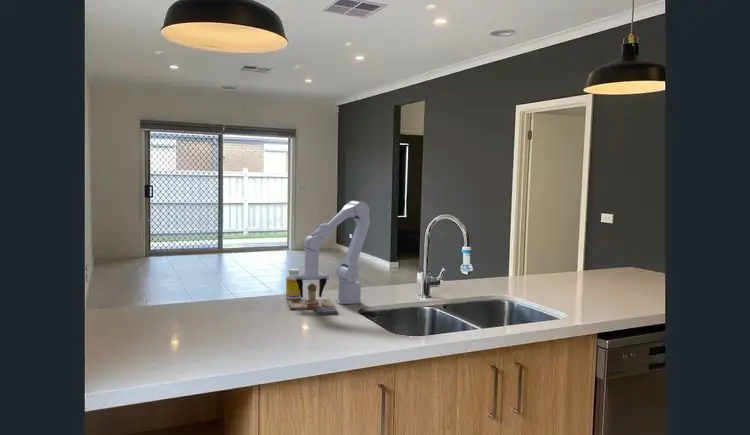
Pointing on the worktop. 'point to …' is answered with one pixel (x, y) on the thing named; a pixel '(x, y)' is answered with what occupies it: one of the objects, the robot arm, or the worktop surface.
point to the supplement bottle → (292, 285)
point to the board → (302, 306)
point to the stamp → (311, 296)
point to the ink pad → (326, 311)
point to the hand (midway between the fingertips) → (310, 296)
